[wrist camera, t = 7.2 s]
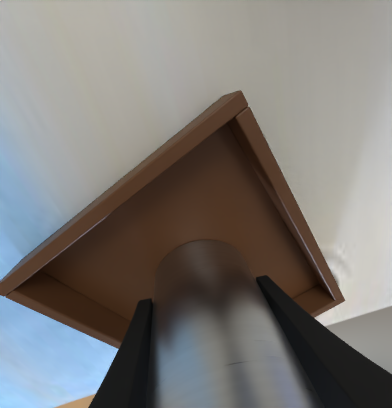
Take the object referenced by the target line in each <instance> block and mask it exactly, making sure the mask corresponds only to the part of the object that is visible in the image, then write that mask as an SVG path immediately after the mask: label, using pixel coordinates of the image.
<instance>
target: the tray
mask: <svg viewBox="0 0 392 408" xmlns="http://www.w3.org/2000/svg"><path fill="white" fill-rule="evenodd" d="M247 106H248V103H247V101H246V99H245V97H244V95H243V93H242V91H241V90H240V91H236V92H233V93H230V94H227V95H224V96H222V97H221V98H220V99H219V100H218V101H216V102H215V103H214V104H213V105H211V106H210V107H209V108H208V109H206V110H205V111H204V112H203V113H202V114H200V115H199V116H198V117H197V118H195V119H194V120H193V121H192V122H190V123H189V124H188V125H187V126H186V127H184V128H183V129H182V130H181V131H179V132H178V133H177V134H176V135H174V136H173V137H172V138H171V139H170V140H168V141H167V142H166V143H165V144H163V145H162V146H161V147H160V148H158V149H157V150H156V151H155V152H154V153H152V154H151V155H150V156H149V157H147V158H146V159H145V160H144V161H142V162H141V163H140V164H139V165H138V166H136V167H135V168H134V169H133V170H131V171H130V172H129V173H128V174H126V175H125V176H124V177H123V178H121V179H120V180H119V181H118V182H117V183H115V184H114V185H113V186H112V187H110V188H109V189H108V190H107V191H105V192H104V193H103V194H102V195H101V196H99V197H98V198H97V199H96V200H94V201H93V202H92V203H91V204H89V205H88V206H87V207H86V208H85V209H83V210H82V211H81V212H80V213H78V214H77V215H76V216H75V217H73V218H72V219H71V220H70V221H69V222H67V223H66V224H65V225H64V226H62V227H61V228H60V229H59V230H57V231H56V232H55V233H54V234H53V235H51V236H50V237H49V238H48V239H46V240H45V241H44V242H43V243H41V244H40V245H39V246H38V247H37V248H35V249H34V250H33V251H32V252H30V253H29V254H28V255H27V256H25V257H24V258H23V259H22V260H21V261H20V262H19V263H18V264H17V265H16V266H15V267H14V268H13V269H12V270H11V271H10V272H9V273H8V274H7V275H6V276H5V277H4V278H3V279H2V280H1V281H0V295H2V296H6V298H8V299H10V300H12V301H15V302H17V303H19V304H21V305H23V306H26V307H28V308H30V309H32V310H34V311H37V312H39V313H41V314H43V315H45V316H48V317H50V318H52V319H54V320H56V321H59V322H61V323H63V324H65V325H67V326H70V327H72V328H74V329H76V330H78V331H80V332H83V333H85V334H87V335H89V336H91V337H94V338H96V339H98V340H100V341H102V342H105V343H107V344H109V345H111V346H113V347H116V348H118V349H119V348H120V345H121V343H122V341H123V339H124V336H125V334H126V332H127V329H128V327H129V325H130V322H131V320H132V317H133V315H134V312H135V309H136V307H137V304H138V302H139V301H140V300H144V299H149V298H151V299H152V302H153V299H154V284H155V274H156V271H157V268H158V266H159V264H160V263H161V261H162V260H163V259H164V258H165V257H166V256H167V255H168V254H169V253H170V252H171V251H173V250H174V249H176V248H178V247H180V246H182V245H184V244H187V243H189V242H193V241H198V240H217V241H222V242H225V243H227V244H229V245H231V246H233V247H234V248H236V249H237V250H238V251H239V252H240V253H241V255H242V256H243V258H244V260H245V262H246V263H247V265H248V267H249V269H250V271H251V273H252V274H253V276H254V278H255V280H256V277H259V276H264V275H267V276H269V277H270V278H271V279H272V280H273V281H274V282H275V283H276V284H277V285H278V286H279V287H280V288H281V289H282V290H283V291H284V292H285V293H286V294H287V295H288V296H289V297H291V298H292V299H293V300H294V301H295V302H296V303H297V304H298V305H300V306H301V307H302V308H303V309H304V310H305V311H306V312H308V313H309V314H310V315H311V316H312V317H313V318H314V317H316V316H318V315H320V314H322V313H323V312H325V311H327V310H329V309H331V308H333V307H335V306H336V305H338V304H340V303H342V302H344V301H345V299H344V297H343V295H342V293H341V291H340V289H339V287H338V285H337V283H336V281H335V279H334V277H333V275H332V273H331V271H330V269H329V267H328V265H327V263H326V261H325V259H324V257H323V255H322V253H321V251H320V249H319V247H318V245H317V243H316V241H315V239H314V237H313V235H312V233H311V231H310V229H309V226H308V224H307V222H306V220H305V218H304V216H303V214H302V212H301V210H300V208H299V206H298V204H297V202H296V200H295V198H294V196H293V194H292V192H291V190H290V188H289V186H288V184H287V182H286V180H285V178H284V176H283V174H282V172H281V170H280V168H279V166H278V164H277V162H276V160H275V158H274V156H273V154H272V152H271V150H270V148H269V146H268V144H267V142H266V140H265V138H264V136H263V134H262V132H261V130H260V127H259V125H258V123H257V121H256V119H255V117H254V115H253V113H252V111H251V109H250V108H249V107H247Z"/></svg>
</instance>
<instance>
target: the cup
mask: <svg viewBox="0 0 392 408" xmlns="http://www.w3.org/2000/svg"><path fill="white" fill-rule="evenodd" d="M146 408H324V406H323V404H322V402H321V400H320V399H319V397H318V395H317V393H316V391H315V389H314V387H313V386H312V384H311V382H310V380H309V378H308V376H307V374H306V373H305V371H304V369H303V367H302V365H301V363H300V361H299V360H298V358H297V356H296V354H295V352H294V350H293V349H292V347H291V345H290V343H289V341H288V339H287V337H286V336H285V334H284V332H283V330H282V328H281V326H280V324H279V323H278V321H277V319H276V317H275V315H274V313H273V312H272V310H271V308H270V306H269V304H268V302H267V300H266V299H265V297H264V295H263V293H262V291H261V289H260V287H259V286H258V284H257V282H256V280H255V278H254V276H253V274H252V273H251V271H250V269H249V267H248V265H247V263H246V262H245V260H244V258H243V256H242V255H241V253H240V252H239V251H238V250H237V249H236V248H234V247H233V246H231V245H229V244H227V243H225V242H222V241H217V240H198V241H193V242H189V243H187V244H184V245H182V246H180V247H178V248H176V249H174V250H173V251H171V252H170V253H169V254H168V255H167V256H166V257H165V258H164V259H163V260H162V261H161V263H160V264H159V266H158V268H157V271H156V274H155V284H154V299H153V313H152V328H151V342H150V357H149V371H148V386H147V401H146Z"/></svg>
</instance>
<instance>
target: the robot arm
mask: <svg viewBox="0 0 392 408" xmlns="http://www.w3.org/2000/svg"><path fill="white" fill-rule="evenodd" d="M256 282H257V284H258V286H259V287H260V289H261V291H262V293H263V295H264V297H265V299H266V300H267V302H268V304H269V306H270V308H271V310H272V312H273V313H274V315H275V317H276V319H277V321H278V323H279V324H280V326H281V328H282V330H283V332H284V334H285V336H286V337H287V339H288V341H289V343H290V345H291V347H292V349H293V350H294V352H295V354H296V356H297V358H298V360H299V361H300V363H301V365H302V367H303V369H304V371H305V373H306V374H307V376H308V378H309V380H310V382H311V384H312V386H313V387H314V389H315V391H316V393H317V395H318V397H319V399H320V400H321V402H322V404H323V406H324V408H392V374H390V373H389V372H387V371H386V370H384V369H383V368H381V367H380V366H378V365H377V364H375V363H374V362H372V361H371V360H369V359H368V358H366V357H365V356H363V355H362V354H361V353H359V352H358V351H356V350H355V349H353V348H352V347H351V346H349V345H348V344H347V343H345V342H344V341H343V340H341V339H340V338H338V337H337V336H336V335H335V334H333V333H332V332H330V331H329V330H328V329H327V328H326V327H324V326H323V325H322V324H321V323H320V322H318V321H317V320H316V319H315V318H313V317H312V316H311V315H310V314H309V313H308V312H306V311H305V310H304V309H303V308H302V307H301V306H300V305H298V304H297V303H296V302H295V301H294V300H293V299H292V298H291V297H289V296H288V295H287V294H286V293H285V292H284V291H283V290H282V289H281V288H280V287H279V286H278V285H277V284H276V283H275V282H274V281H273V280H272V279H271V278H270V277H269V276H267V275H264V276H259V277H256ZM152 313H153V302H152V299H151V298H149V299H144V300H140V301H139V302H138V304H137V307H136V309H135V312H134V315H133V317H132V320H131V322H130V325H129V327H128V329H127V332H126V334H125V336H124V339H123V341H122V343H121V345H120V348H119V350H118V352H117V354H116V356H115V358H114V360H113V362H112V364H111V366H110V368H109V370H108V372H107V374H106V376H105V378H104V380H103V382H102V384H101V386H100V388H99V389H98V391H97V393H96V395H95V397H94V398H93V401H92V402H91V404H90V406H89V407H88V408H146V401H147V386H148V371H149V357H150V342H151V328H152Z"/></svg>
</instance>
